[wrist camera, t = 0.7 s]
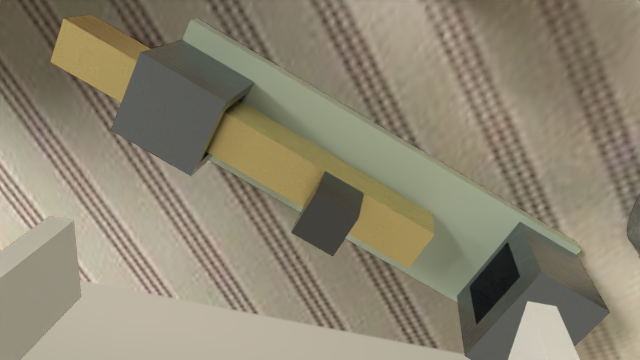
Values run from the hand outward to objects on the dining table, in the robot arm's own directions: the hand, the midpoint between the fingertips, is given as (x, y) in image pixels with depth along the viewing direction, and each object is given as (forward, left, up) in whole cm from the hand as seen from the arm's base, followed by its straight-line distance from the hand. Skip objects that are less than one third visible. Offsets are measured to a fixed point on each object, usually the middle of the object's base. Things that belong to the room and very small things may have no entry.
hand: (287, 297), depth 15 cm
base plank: (+3, -6, -25) cm, 26 cm away
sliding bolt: (-5, -6, -22) cm, 24 cm away
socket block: (+17, -6, -24) cm, 30 cm away
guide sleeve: (-10, -6, -24) cm, 27 cm away
